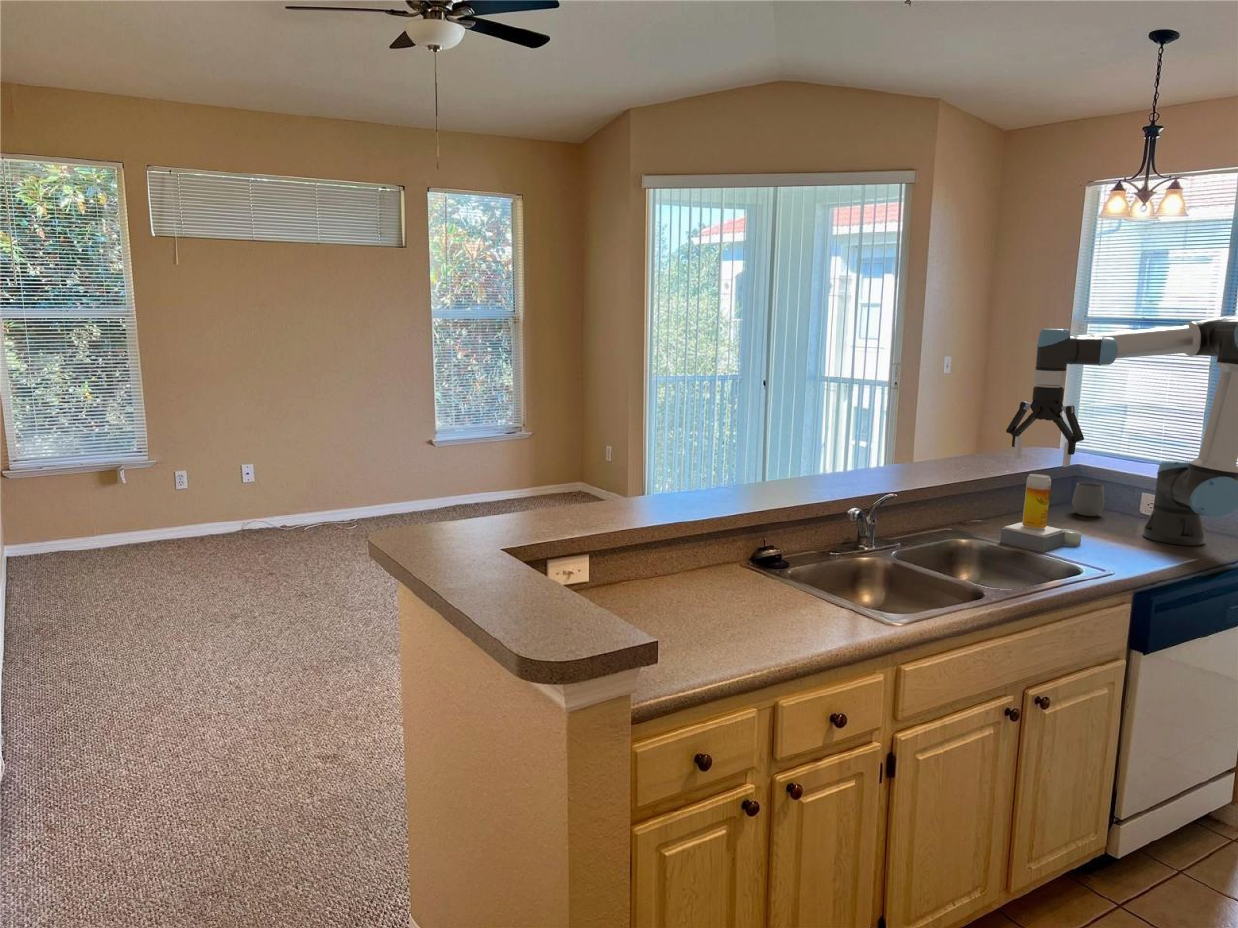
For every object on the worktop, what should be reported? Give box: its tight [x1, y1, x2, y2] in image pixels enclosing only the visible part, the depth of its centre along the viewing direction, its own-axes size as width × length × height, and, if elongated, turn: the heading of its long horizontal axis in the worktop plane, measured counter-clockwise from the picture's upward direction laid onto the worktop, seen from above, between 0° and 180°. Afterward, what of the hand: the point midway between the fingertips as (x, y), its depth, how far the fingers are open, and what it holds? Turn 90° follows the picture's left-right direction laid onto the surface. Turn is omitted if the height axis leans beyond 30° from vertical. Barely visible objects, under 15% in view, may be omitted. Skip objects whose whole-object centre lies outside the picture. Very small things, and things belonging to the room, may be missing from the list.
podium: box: [999, 522, 1065, 553], centre depth 237 cm, size 12×12×5 cm
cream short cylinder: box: [1062, 528, 1083, 547], centre depth 238 cm, size 6×6×4 cm
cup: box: [1071, 481, 1105, 517], centre depth 274 cm, size 10×9×10 cm
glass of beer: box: [1022, 473, 1052, 530], centre depth 235 cm, size 6×6×15 cm
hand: (1041, 462), depth 233 cm, fingers open, 13 cm apart
